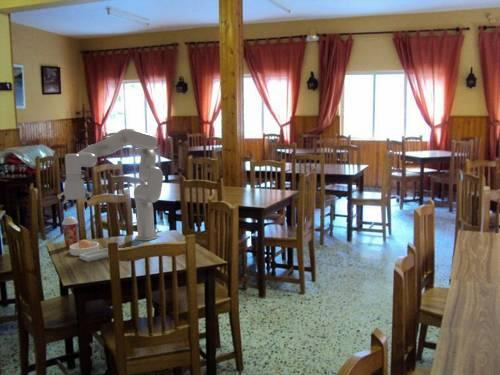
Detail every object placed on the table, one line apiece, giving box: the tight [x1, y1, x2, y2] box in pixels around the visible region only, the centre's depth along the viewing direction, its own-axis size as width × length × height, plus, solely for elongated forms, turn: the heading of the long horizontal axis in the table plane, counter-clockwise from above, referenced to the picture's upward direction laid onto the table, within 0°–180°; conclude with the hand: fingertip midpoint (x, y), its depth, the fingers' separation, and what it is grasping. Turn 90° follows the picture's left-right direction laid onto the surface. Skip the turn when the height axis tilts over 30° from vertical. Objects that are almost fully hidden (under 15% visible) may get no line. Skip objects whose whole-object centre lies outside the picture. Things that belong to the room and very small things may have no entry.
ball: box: [78, 239, 91, 249], centre depth 280 cm, size 6×6×6 cm
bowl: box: [69, 241, 100, 257], centre depth 281 cm, size 15×15×4 cm
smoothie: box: [61, 210, 79, 249], centre depth 290 cm, size 8×8×20 cm
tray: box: [79, 247, 109, 263], centre depth 270 cm, size 16×9×2 cm, turn 134°
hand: (75, 210), depth 275 cm, fingers open, 9 cm apart
